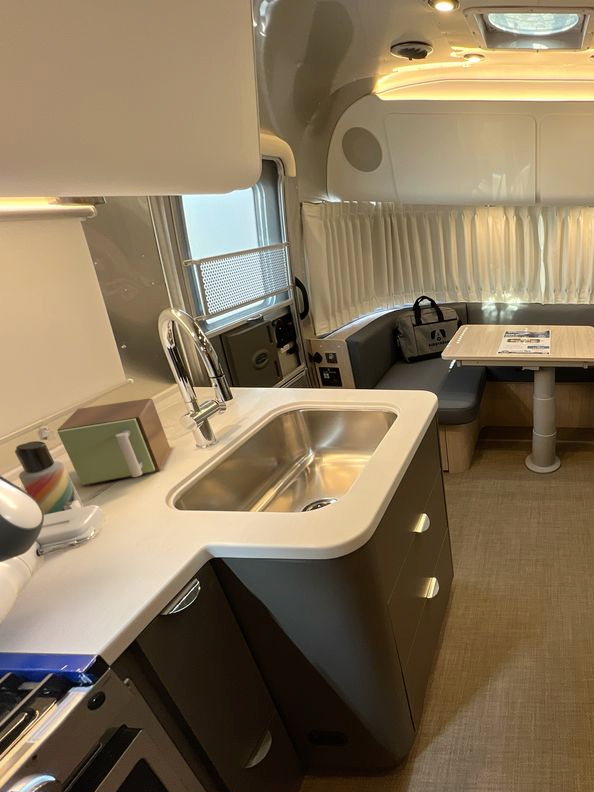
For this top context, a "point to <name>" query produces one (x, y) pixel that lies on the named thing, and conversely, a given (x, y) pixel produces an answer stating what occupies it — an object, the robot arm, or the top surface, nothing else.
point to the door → (107, 451)
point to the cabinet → (124, 411)
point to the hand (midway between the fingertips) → (38, 511)
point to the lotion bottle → (45, 477)
